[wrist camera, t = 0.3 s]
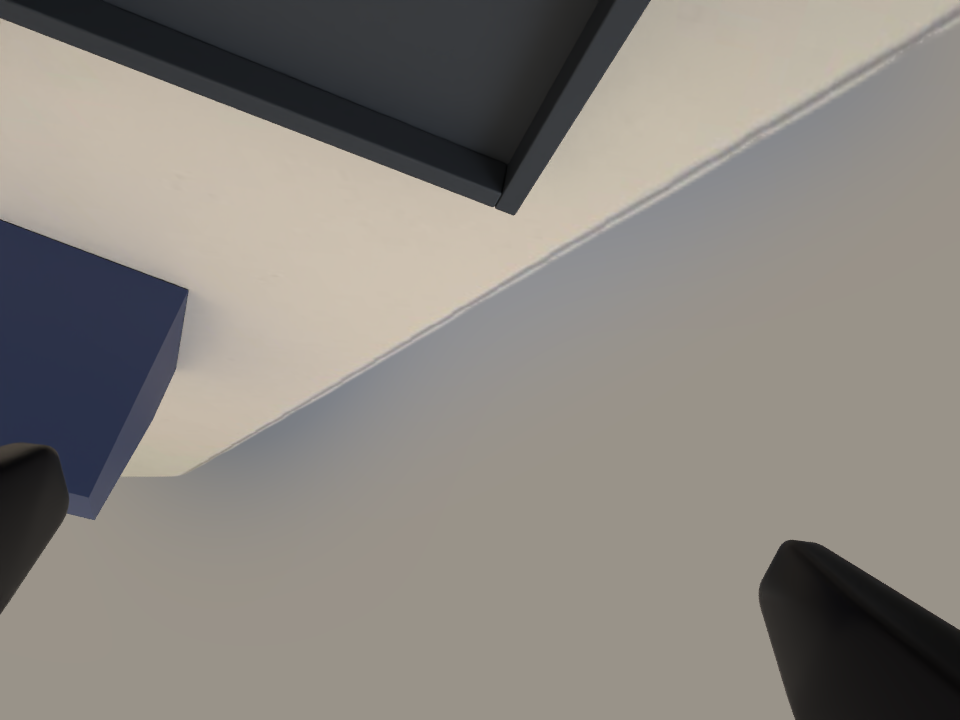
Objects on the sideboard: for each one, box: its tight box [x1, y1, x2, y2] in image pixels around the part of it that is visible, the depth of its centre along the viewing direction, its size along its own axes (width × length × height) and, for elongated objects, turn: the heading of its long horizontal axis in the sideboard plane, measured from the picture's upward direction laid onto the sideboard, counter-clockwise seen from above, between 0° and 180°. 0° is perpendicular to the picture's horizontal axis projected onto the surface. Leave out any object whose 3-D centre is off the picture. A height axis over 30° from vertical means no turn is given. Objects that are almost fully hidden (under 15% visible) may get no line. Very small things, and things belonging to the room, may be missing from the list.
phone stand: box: [0, 220, 188, 520], centre depth 35 cm, size 12×12×12 cm
